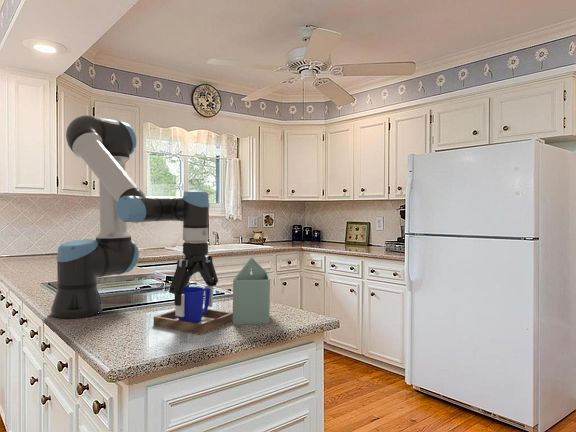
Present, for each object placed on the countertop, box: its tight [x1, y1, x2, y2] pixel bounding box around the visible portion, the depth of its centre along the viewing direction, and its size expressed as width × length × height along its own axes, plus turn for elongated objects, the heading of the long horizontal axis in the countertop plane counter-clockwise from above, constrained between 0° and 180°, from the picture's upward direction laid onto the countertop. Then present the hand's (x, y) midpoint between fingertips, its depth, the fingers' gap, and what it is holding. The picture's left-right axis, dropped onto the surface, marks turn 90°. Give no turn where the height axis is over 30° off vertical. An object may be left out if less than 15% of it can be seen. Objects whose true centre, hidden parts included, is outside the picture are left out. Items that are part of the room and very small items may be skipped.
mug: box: [178, 286, 210, 323], centre depth 134 cm, size 8×12×10 cm
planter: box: [232, 257, 271, 325], centre depth 138 cm, size 16×8×20 cm, turn 143°
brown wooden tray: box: [152, 307, 233, 335], centre depth 134 cm, size 18×16×3 cm
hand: (194, 311), depth 134 cm, fingers open, 13 cm apart
